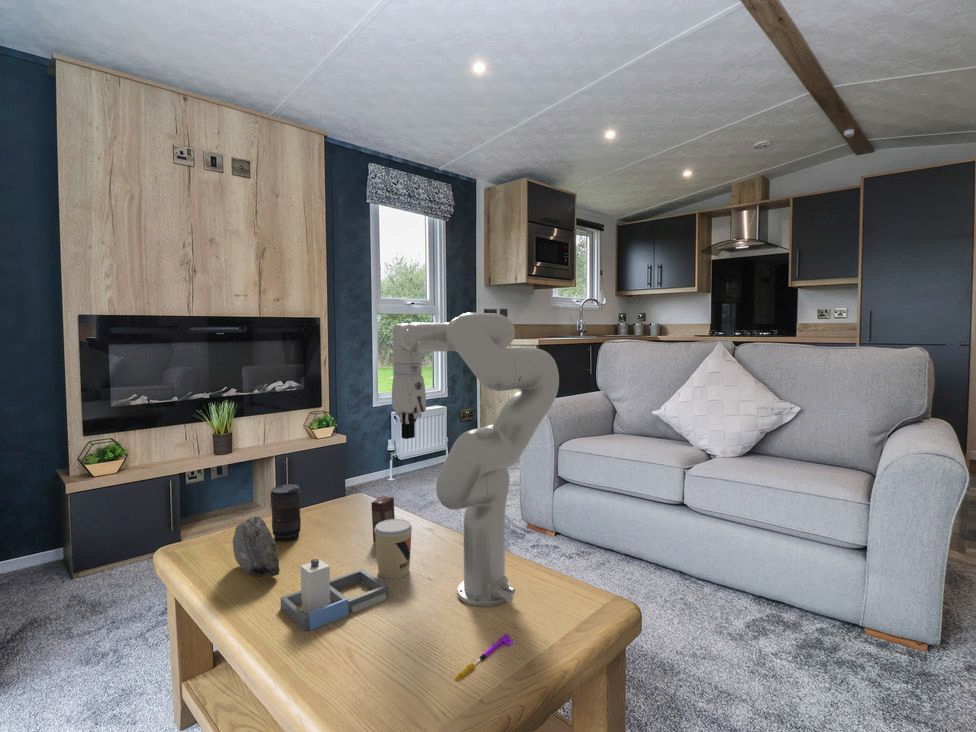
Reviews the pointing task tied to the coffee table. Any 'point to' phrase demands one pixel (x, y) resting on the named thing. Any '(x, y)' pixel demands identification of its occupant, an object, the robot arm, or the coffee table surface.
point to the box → (382, 511)
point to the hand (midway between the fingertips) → (408, 437)
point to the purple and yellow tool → (486, 654)
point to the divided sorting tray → (336, 601)
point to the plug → (315, 585)
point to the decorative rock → (255, 548)
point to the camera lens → (285, 512)
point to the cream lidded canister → (393, 547)
